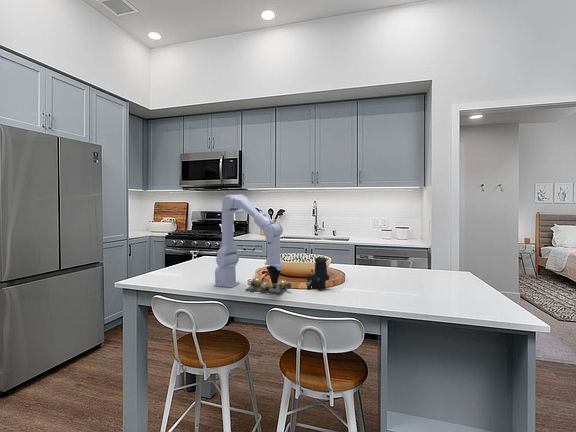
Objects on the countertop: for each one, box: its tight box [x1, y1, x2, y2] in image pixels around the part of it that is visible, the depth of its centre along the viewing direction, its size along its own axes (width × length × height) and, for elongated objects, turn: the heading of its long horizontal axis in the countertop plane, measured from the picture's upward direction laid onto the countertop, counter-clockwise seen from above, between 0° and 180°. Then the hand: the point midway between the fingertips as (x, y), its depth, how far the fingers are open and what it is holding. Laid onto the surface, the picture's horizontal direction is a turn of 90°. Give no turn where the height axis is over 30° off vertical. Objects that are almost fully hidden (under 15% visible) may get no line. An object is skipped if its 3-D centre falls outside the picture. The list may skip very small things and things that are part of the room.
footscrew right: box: [261, 281, 278, 290], centre depth 145 cm, size 7×4×2 cm, turn 69°
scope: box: [305, 256, 331, 291], centre depth 149 cm, size 8×14×10 cm
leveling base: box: [245, 282, 290, 296], centre depth 149 cm, size 17×11×2 cm, turn 70°
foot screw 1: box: [250, 277, 262, 286], centre depth 151 cm, size 7×4×2 cm, turn 161°
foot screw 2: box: [278, 279, 292, 289], centre depth 147 cm, size 7×4×2 cm, turn 40°
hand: (274, 283), depth 140 cm, fingers closed
